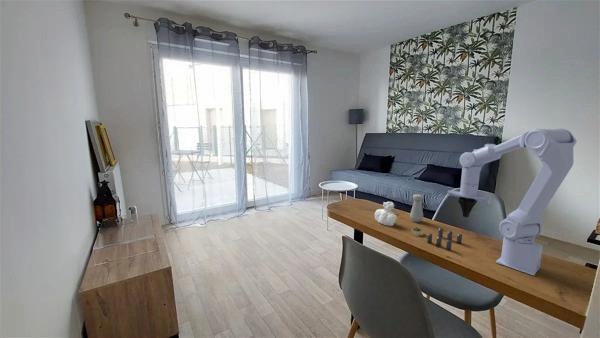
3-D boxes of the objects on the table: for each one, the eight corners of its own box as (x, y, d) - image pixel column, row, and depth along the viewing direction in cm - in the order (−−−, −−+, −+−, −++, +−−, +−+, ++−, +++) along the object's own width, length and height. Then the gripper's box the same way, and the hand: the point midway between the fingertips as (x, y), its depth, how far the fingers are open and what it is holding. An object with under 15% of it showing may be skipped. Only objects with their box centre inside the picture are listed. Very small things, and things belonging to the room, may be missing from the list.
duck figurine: (396, 231, 113) (407, 210, 115) (388, 224, 109) (399, 202, 112) (376, 223, 123) (386, 203, 126) (367, 216, 120) (378, 196, 122)
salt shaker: (424, 223, 117) (426, 196, 115) (411, 222, 118) (413, 196, 116) (420, 219, 123) (422, 193, 121) (408, 218, 124) (410, 193, 122)
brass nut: (425, 234, 105) (425, 230, 105) (420, 237, 103) (420, 232, 102) (413, 231, 109) (414, 226, 109) (408, 233, 106) (408, 229, 106)
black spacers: (462, 243, 97) (463, 234, 96) (449, 251, 91) (450, 241, 90) (439, 235, 104) (439, 227, 103) (426, 242, 98) (427, 233, 97)
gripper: (495, 185, 94) (491, 219, 96) (453, 179, 105) (450, 210, 107) (489, 187, 90) (484, 223, 92) (446, 181, 101) (443, 213, 103)
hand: (465, 216), depth 99 cm, fingers closed
